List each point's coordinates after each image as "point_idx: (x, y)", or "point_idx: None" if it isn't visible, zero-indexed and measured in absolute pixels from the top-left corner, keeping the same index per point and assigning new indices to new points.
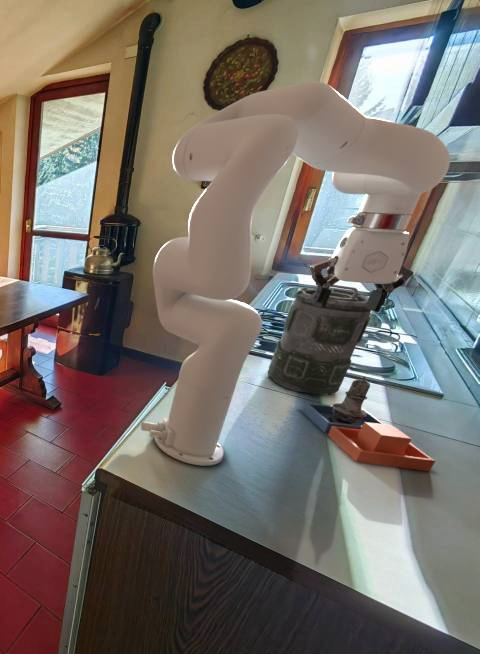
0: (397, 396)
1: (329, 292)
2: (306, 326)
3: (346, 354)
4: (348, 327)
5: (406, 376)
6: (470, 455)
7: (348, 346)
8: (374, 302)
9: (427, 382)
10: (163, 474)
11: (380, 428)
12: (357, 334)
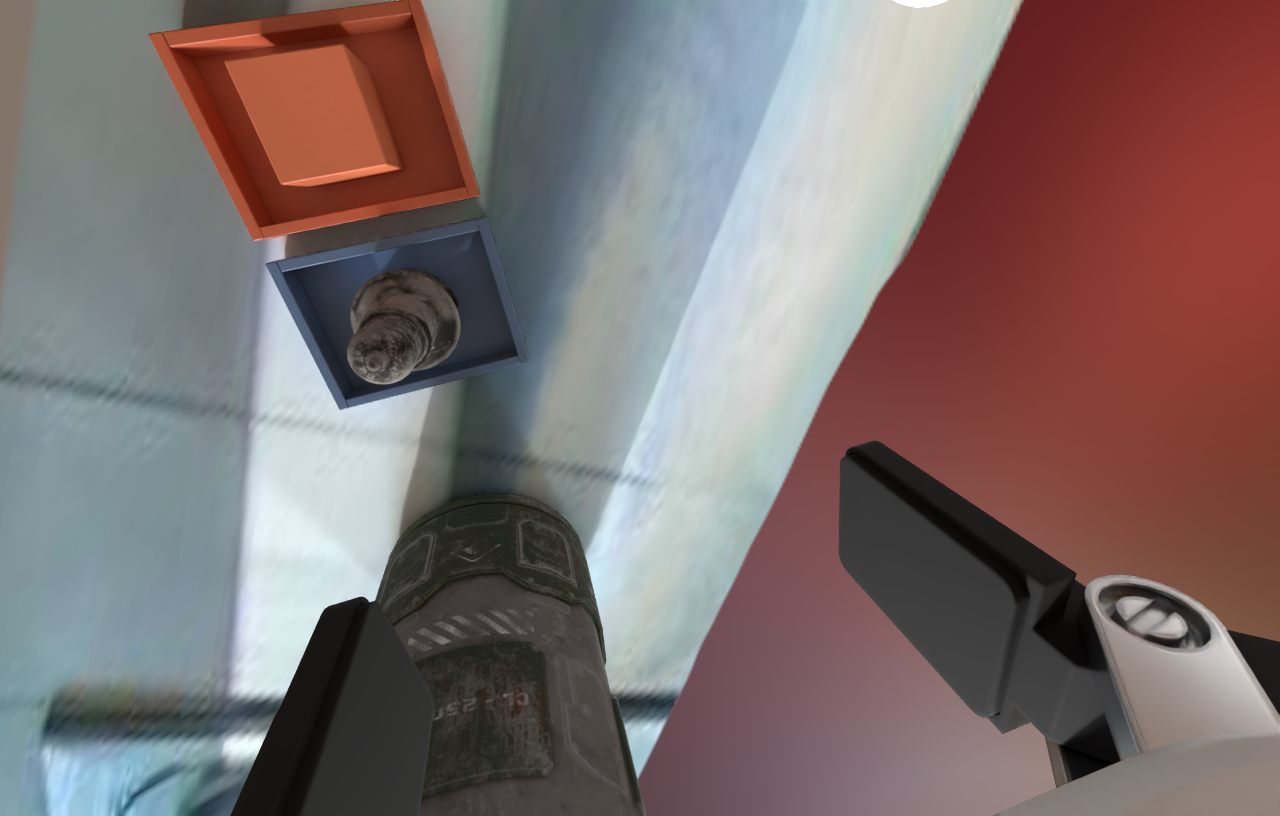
0: (198, 638)
1: (1003, 544)
2: (579, 704)
3: None
4: None
5: (145, 809)
6: (8, 271)
7: None
8: (374, 718)
9: (81, 803)
10: None
11: (335, 118)
12: None
